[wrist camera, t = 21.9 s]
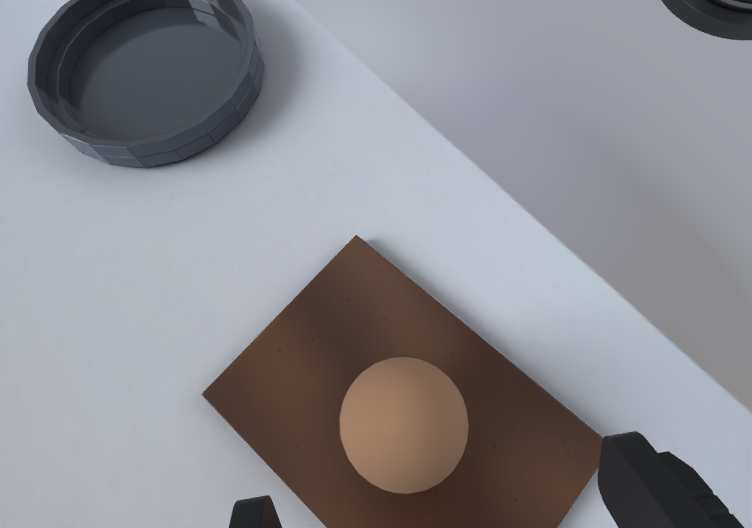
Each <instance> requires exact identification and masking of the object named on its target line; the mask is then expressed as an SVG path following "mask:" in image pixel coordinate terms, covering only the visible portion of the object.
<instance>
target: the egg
mask: <svg viewBox="0 0 752 528" xmlns="http://www.w3.org/2000/svg"><path fill="white" fill-rule="evenodd" d="M468 427H469V425H468V418H467V410H466V406H465V403H464V400H463V398H462V396H461V394H460V392H459V390H458V389H457V387H456V386H455V384H454V383H453V382H452V380H451V379H450V378H449V377H448V376H447V375H446V374H444V373H443V372H442V371H441V370H440V369H439V368H437V367H436V366H434V365H431V364H429V363H427V362H425V361H423V360H420V359H415V358H410V357H397V358H389V359H386V360H384V361H381V362H378V363H375V364H374V365H372V366H371V367H369V368H368V369H366V370H365V371H363V372H362V373H361V374H360V375H359V376H358V377H357V379H356V380H355V381H354V382H353V384H352V385H351V386H350V388H349V389H348V392H347V394H346V396H345V398H344V400H343V404H342V409H341V414H340V436H341V440H342V444H343V446H344V449H345V452H346V454H347V457H348V459H349V461H350V462H351V463H352V465H353V466H354V467H355V469H356V470H357V471H358V473H359V474H360V475H361V476H363V477H364V478H365V479H366V480H367V481H369V482H370V483H371V484H373V485H375V486H377V487H379V488H381V489H383V490H386V491H390V492H394V493H403V494H409V493H415V492H420V491H425V490H427V489H429V488H431V487H433V486H435V485H437V484H439V483H441V482H442V481H443V480H444V479H445V478H446V477H447V476H448V475H449V474H450V473H451V472H452V471H453V470H454V469H455V467H456V466H457V464H458V462H459V461H460V459H461V457H462V456H463V453H464V449H465V446H466V443H467V437H468Z"/></svg>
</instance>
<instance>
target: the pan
mask: <svg viewBox="0 0 752 528" xmlns="http://www.w3.org/2000/svg"><path fill="white" fill-rule="evenodd" d="M263 71H264V60H263V55H262V49H261V43H260V39H259V36H258V34H257V31H256V28H255V25H254V22H253V19H252V16H251V14H250V13H249V11H248V10H247V8H246V7H245V5H244V4H243V2H242V1H241V0H70V1H68V2H67V3H66V4H64V5H63V6H62V7H61V8H60V9H59V10H58V11H57V12H56V14H55V15H54V16H53V17H52V18H51V19H50V21H49V22H48V23H47V24H46V25H45V26H44V28H43V29H42V31H41V32H40V34H39V36H38V38H37V41H36V43H35V45H34V47H33V50H32V52H31V54H30V56H29V62H28V81H27V86H28V89H29V92H30V94H31V97H32V99H33V102H34V105H35V107H36V110H37V112H38V113H39V114H40V115H41V116H42V117H43V118H44V119H45V120H46V121H47V122H48V123H49V124H50V125H51V126H52V127H53V128H54V129H55V130H56V131H57V132H58V133H59V134H61V135H62V136H63V137H64V138H65V139H66V140H68V141H69V142H70V143H71V144H72V145H73V146H75V147H76V148H77V149H78V150H79V151H80V152H82V153H83V154H86V155H88V156H91V157H93V158H96V159H98V160H100V161H103V162H105V163H108V164H110V165H118V166H132V167H145V168H146V167H151V166H156V165H161V164H165V163H170V162H175V161H180V160H184V159H186V158H188V157H190V156H192V155H194V154H196V153H198V152H200V151H202V150H204V149H206V148H208V147H210V146H212V145H214V144H215V143H217V142H218V141H219V140H220V139H221V138H223V137H224V136H225V135H226V134H227V133H228V132H229V131H231V130H232V129H233V128H234V127H235V126H236V125H237V124H239V123H240V122H241V121H242V120H243V118H244V116H245V115H246V113H247V112H248V110H249V108H250V107H251V105H252V104H253V102H254V100H255V99H256V97H257V96H258V93H259V89H260V84H261V80H262V75H263Z"/></svg>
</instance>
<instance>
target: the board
mask: <svg viewBox="0 0 752 528" xmlns="http://www.w3.org/2000/svg"><path fill="white" fill-rule="evenodd" d="M397 357H410V358H415V359H420V360H423V361H425V362H427V363H429V364H431V365H434V366H436V367H437V368H439V369H440V370H441V371H442V372H443V373H444V374H446V375H447V376H448V377H449V378H450V379H451V380H452V382H453V383H454V384H455V386H456V387H457V389H458V390H459V392H460V394H461V396H462V398H463V400H464V403H465V406H466V410H467V418H468V425H469V427H468V437H467V443H466V446H465V449H464V453H463V456H462V457H461V459H460V461H459V462H458V464H457V466H456V467H455V469H454V470H453V471H452V472H451V473H450V474H449V475H448V476H447V477H446V478H445V479H444V480H443V481H442V482H441V483H439V484H437V485H435V486H433V487H431V488H429V489H427V490H425V491H420V492H415V493H409V494H403V493H394V492H390V491H386V490H383V489H381V488H379V487H377V486H375V485H373V484H371V483H370V482H369V481H367V480H366V479H365V478H364V477H363V476H361V475H360V474H359V473H358V471H357V470H356V469H355V467H354V466H353V465H352V463H351V462H350V461H349V459H348V457H347V454H346V452H345V449H344V446H343V444H342V440H341V436H340V414H341V409H342V404H343V400H344V398H345V396H346V394H347V392H348V389H349V388H350V386H351V385H352V384H353V382H354V381H355V380H356V379H357V377H358V376H359V375H360V374H361V373H362V372H363V371H365V370H366V369H368V368H369V367H371V366H372V365H374V364H375V363H378V362H381V361H384V360H386V359H389V358H397ZM202 396H203V397H204V398H205V399H206V400H207V401H208V402H209V403H210V404H211V405H212V406H213V407H214V408H215V409H216V410H217V412H218V413H219V414H220V415H221V416H222V417H223V418H224V419H225V420H226V421H227V422H228V423H229V424H230V425H231V426H232V427H233V428H234V430H235V431H236V432H237V433H238V434H239V435H240V436H241V437H242V438H243V439H244V440H245V441H246V442H247V443H248V444H249V445H250V447H251V448H252V449H253V450H254V451H255V452H256V453H257V454H258V455H259V456H260V457H261V458H262V459H263V460H264V461H265V462H266V464H267V465H268V466H269V467H270V468H271V469H272V470H273V471H274V472H275V473H276V474H277V475H278V476H279V477H280V478H281V479H282V480H283V482H284V483H285V484H286V485H287V486H288V487H289V488H290V489H291V490H292V491H293V492H294V493H295V494H296V495H297V496H298V497H299V499H300V500H301V501H302V502H303V503H304V504H305V505H306V506H307V507H308V508H309V509H310V510H311V511H312V512H313V513H314V514H315V515H316V517H317V518H318V519H319V520H320V521H321V522H322V523H323V524H324V525H325V526H326V527H327V528H557V527H558V525H559V524H560V522H561V521H562V519H563V518H564V516H565V515H566V514H567V512H568V511H569V509H570V508H571V506H572V505H573V503H574V502H575V500H576V499H577V497H578V496H579V494H580V493H581V492H582V490H583V489H584V487H585V486H586V484H587V483H588V481H589V480H590V478H591V477H592V475H593V474H594V472H595V471H596V469H597V468H598V467H599V462H600V453H601V445H602V440H603V438H602V437H601V436H600V435H599V434H598V433H596V432H595V431H594V430H593V429H591V428H590V427H589V426H588V425H587V424H585V423H584V422H583V421H582V420H581V419H579V418H578V417H577V416H576V415H574V414H573V413H572V412H571V411H570V410H568V409H567V408H566V407H565V406H564V405H562V404H561V403H560V402H559V401H557V400H556V399H555V398H554V397H553V396H551V395H550V394H549V393H548V392H547V391H545V390H544V389H543V388H542V387H540V386H539V385H538V384H537V383H536V382H534V381H533V380H532V379H531V378H530V377H528V376H527V375H526V374H525V373H523V372H522V371H521V370H520V369H519V368H517V367H516V366H515V365H514V364H513V363H511V362H510V361H509V360H508V359H506V358H505V357H504V356H503V355H502V354H500V353H499V352H498V351H497V350H496V349H494V348H493V347H492V346H491V345H489V344H488V343H487V342H486V341H485V340H483V339H482V338H481V337H480V336H479V335H477V334H476V333H475V332H474V331H472V330H471V329H470V328H469V327H468V326H466V325H465V324H464V323H463V322H462V321H460V320H459V319H458V318H457V317H455V316H454V315H453V314H452V313H451V312H449V311H448V310H447V309H446V308H445V307H443V306H442V305H441V304H440V303H439V302H437V301H436V300H435V299H434V298H432V297H431V296H430V295H429V294H428V293H426V292H425V291H424V290H423V289H422V288H420V287H419V286H418V285H417V284H415V283H414V282H413V281H412V280H411V279H409V278H408V277H407V276H406V275H405V274H403V273H402V272H401V271H400V270H398V269H397V268H396V267H395V266H394V265H392V264H391V263H390V262H389V261H388V260H386V259H385V258H384V257H383V256H381V255H380V254H379V253H378V252H377V251H375V250H374V249H373V248H372V247H371V246H369V245H368V244H367V243H366V242H364V241H363V240H362V239H361V238H360V237H358V236H357V235H356V236H355V237H354V238H353V239H352V240H351V241H350V242H349V243H348V244H347V245H346V246H345V247H344V248H343V249H342V250H341V251H340V252H339V253H338V254H337V255H336V256H335V257H334V258H333V259H332V260H331V261H330V262H329V263H328V264H327V265H326V266H325V268H324V269H323V270H322V271H321V272H320V273H319V274H318V275H317V276H316V277H315V278H314V279H313V280H312V281H311V282H310V283H309V284H308V285H307V286H306V287H305V288H304V289H303V290H302V291H301V292H300V293H299V294H298V295H297V296H296V297H295V298H294V299H293V301H292V302H291V303H290V304H289V305H288V306H287V307H286V308H285V309H284V310H283V311H282V312H281V313H280V314H279V315H278V316H277V317H276V318H275V319H274V320H273V321H272V322H271V323H270V324H269V325H268V326H267V327H266V328H265V329H264V330H263V331H262V333H261V334H260V335H259V336H258V337H257V338H256V339H255V340H254V341H253V342H252V343H251V344H250V345H249V346H248V347H247V348H246V349H245V350H244V351H243V352H242V353H241V354H240V355H239V356H238V357H237V358H236V359H235V360H234V361H233V362H232V363H231V365H230V366H229V367H228V368H227V369H226V370H225V371H224V372H223V373H222V374H221V375H220V376H219V377H218V378H217V379H216V380H215V381H214V382H213V383H212V384H211V385H210V386H209V387H208V388H207V389H206V390H205V391H204V392H203V393H202Z"/></svg>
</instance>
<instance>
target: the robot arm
mask: <svg viewBox="0 0 752 528" xmlns="http://www.w3.org/2000/svg"><path fill="white" fill-rule="evenodd" d="M707 1H709V2H710V3H712V4H715V5H717V6H719V7H722V8H725V9H728V10H732V11H736V12H742V13H752V0H707ZM598 486H599V490H600V494H601V496H602V499H603V501H604V503H605V505H606V507H607V509H608V511H609V512H610V514H611V516H612V517H613V519H614V521H615V522H616V524H617V526H618V527H619V528H744V527H743V526H742V525H741V523H740V522H739V521H738V520H737V519H736V518H735V516H734V515H733V514H732V515H731V514H730V513H729V511H728V510H729V509H728V508H727V507H726V506H725V505H724V504H723V502H722V501H721V500H720V499H719V498H718V497H717V496H716V495H714V494H713V492H712V490H711V489H710V487H709V486H708V485H707V484H706V483H705V482H704V480H703V479H702V478H701V477H700V476H699V475H698V473H697V472H696V471H695V470H694V469H693V468H692V467H690V466H689V465H687V464H686V463H685V462H683V461H682V460H680V459H679V458H677V457H676V456H674V455H673V454H672V453H670V452H669V451H668V452H662V453H657V452H656V451H655V450H654V448H653V447H652V446H651V445H650V443H649V442H648V441H647V440H646V438H645V437H644V436H643V435H642V434H640V433H639V432H636V431H634V432H628V433H623V434H617V435H612V436H606V437H604V438H603V440H602V445H601V453H600V462H599V471H598ZM229 528H282V526H281V523H280V521H279V518H278V515H277V513H276V510H275V507H274V505H273V502H272V499H271V497H270V496H269V495H267V496H261V497H255V498H250V499H244V500H239V501H237V502H236V503H235V505H234V507H233V511H232V516H231V520H230V525H229Z"/></svg>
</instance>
